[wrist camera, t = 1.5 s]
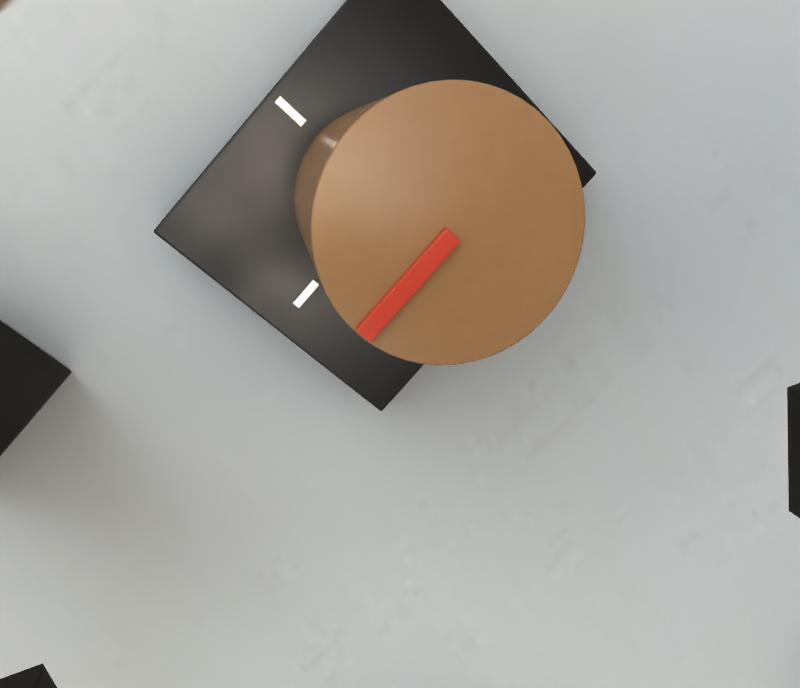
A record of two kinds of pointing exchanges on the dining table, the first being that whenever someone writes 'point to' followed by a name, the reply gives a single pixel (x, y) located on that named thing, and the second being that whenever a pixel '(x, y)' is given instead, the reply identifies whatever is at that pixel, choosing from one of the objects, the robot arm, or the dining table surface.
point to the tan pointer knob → (442, 219)
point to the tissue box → (23, 382)
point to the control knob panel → (279, 162)
